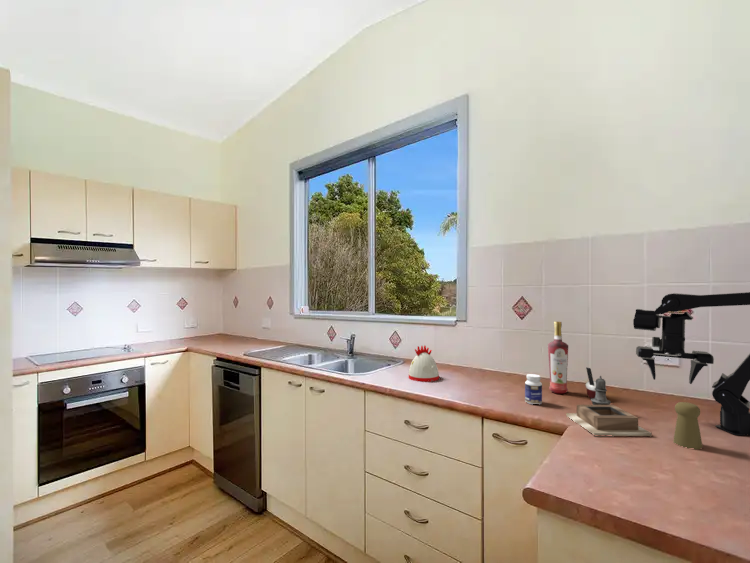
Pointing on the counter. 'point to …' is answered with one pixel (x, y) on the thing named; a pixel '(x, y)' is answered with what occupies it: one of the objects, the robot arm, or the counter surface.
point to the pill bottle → (533, 389)
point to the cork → (687, 426)
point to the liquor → (558, 362)
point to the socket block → (607, 421)
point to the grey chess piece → (600, 393)
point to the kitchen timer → (423, 366)
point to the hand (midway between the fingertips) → (671, 381)
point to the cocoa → (590, 384)
